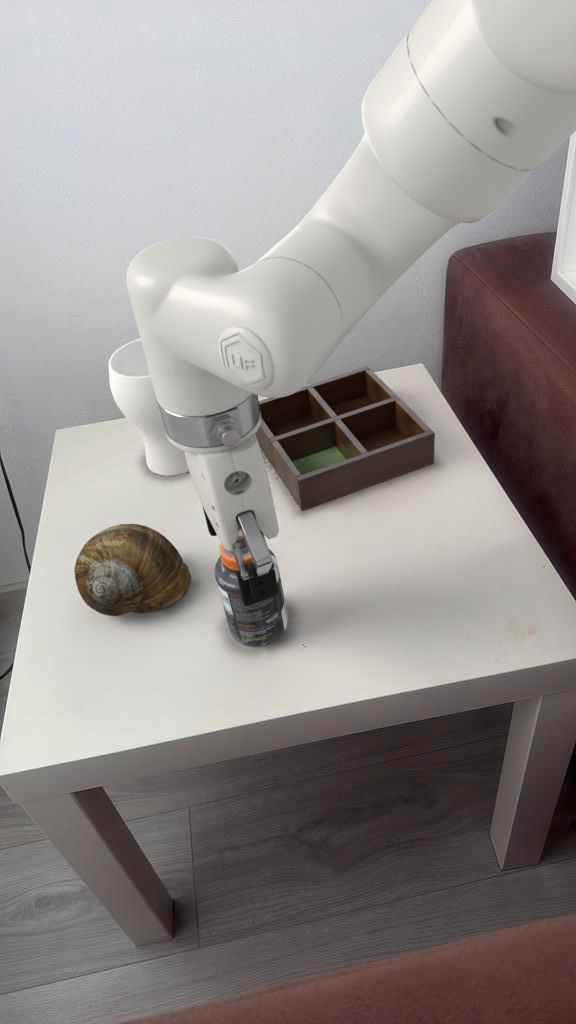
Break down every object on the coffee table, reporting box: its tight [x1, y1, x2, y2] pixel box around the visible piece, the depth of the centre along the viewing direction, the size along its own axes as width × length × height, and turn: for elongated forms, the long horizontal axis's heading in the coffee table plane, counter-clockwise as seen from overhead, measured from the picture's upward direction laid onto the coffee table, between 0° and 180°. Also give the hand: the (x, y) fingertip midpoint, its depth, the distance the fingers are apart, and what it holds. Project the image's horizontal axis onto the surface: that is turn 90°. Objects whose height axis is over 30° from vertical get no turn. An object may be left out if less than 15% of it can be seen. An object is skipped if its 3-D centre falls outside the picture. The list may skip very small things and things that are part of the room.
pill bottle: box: [214, 530, 289, 648], centre depth 70 cm, size 6×6×11 cm
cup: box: [108, 338, 190, 477], centre depth 90 cm, size 11×11×15 cm
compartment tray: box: [255, 365, 436, 512], centre depth 91 cm, size 17×17×5 cm
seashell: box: [73, 523, 192, 617], centre depth 76 cm, size 11×9×8 cm
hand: (242, 562), depth 68 cm, fingers open, 9 cm apart
